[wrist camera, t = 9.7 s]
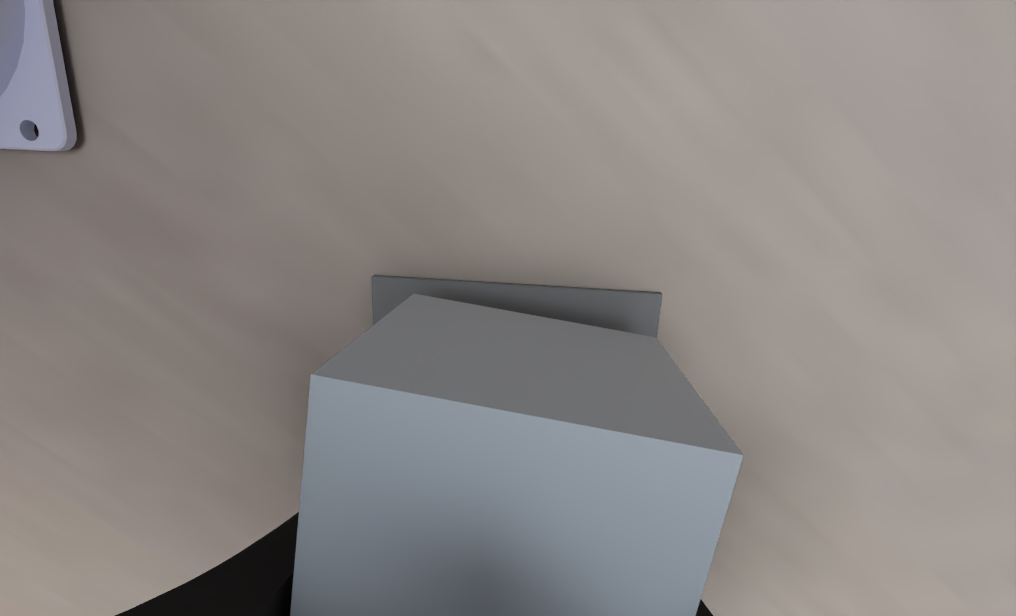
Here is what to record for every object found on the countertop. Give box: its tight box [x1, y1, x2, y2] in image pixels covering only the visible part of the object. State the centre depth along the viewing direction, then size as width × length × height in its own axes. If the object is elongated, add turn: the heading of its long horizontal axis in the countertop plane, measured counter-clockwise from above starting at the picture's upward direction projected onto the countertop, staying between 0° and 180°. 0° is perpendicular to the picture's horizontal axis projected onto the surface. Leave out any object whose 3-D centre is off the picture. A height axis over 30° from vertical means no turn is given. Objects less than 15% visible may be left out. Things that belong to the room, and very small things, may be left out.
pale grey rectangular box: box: [290, 294, 744, 616], centre depth 11 cm, size 6×9×6 cm, turn 171°
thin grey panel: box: [372, 275, 662, 337], centre depth 16 cm, size 8×10×1 cm
